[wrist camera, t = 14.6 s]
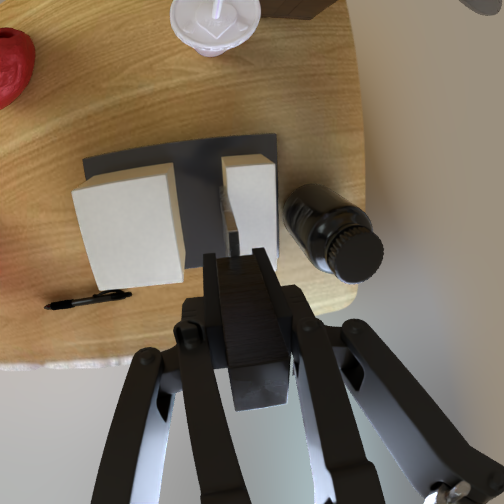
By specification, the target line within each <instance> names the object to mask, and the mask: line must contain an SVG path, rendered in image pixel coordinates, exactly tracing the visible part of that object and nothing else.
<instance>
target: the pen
mask: <svg viewBox="0 0 504 504" xmlns="http://www.w3.org/2000/svg"><path fill="white" fill-rule="evenodd" d="M109 292H115V293H111V294H106V295H103V294H105V293H109ZM130 296H132V293H131V292H124V291H122V290H120V289H111V290H105V291H103V292H101V293H99V294H94V295H93V297H87V298H81V299H75V300H74V299H71V300H64V301H58V302H52V303H51V304H48V305H46V306H44V309H47V310H59V309H68V308H72V307H75V306H82V305H88V304H95V303H101V302H107V301H116V300H122V299H125V298H126V297H130Z"/></svg>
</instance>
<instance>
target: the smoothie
mask: <svg viewBox="0 0 504 504" xmlns="http://www.w3.org/2000/svg"><path fill="white" fill-rule="evenodd" d="M260 16H261V6H260V2H259V0H173V2H172V5H171V8H170V21H171V27H172V29H173V30H174V32H175V34H176V36H177V37H178V38H179V39H180V40H181V41H182V42H184V43H185V44H187V45H189V46H191V47H193V48H194V49H195V50H196V51H197V52H198V53H199V54H201V55H203V56H206V57H215V56H218V55H221V54H222V53H224V52H225V51H226V50H228V49H230V48H233V47H236V46H238V45H240V44H241V43H243V42H244V41H246V40H247V39H248V38H249V37H250V36H251V35H252V34H253V33H254V31H255V29H256V27H257V25H258V23H259V20H260Z"/></svg>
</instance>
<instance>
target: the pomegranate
mask: <svg viewBox="0 0 504 504" xmlns="http://www.w3.org/2000/svg"><path fill="white" fill-rule="evenodd" d="M34 62H35V47H34V45H33V42H32V40H31V38H30V36H29V35H27V34H25V33H24V32H22V31H19V30H16V29H13V28H7V27H5V28H0V110H1V109H3V108H4V107H6V106H8V105H9V104H10V103H12V102H13V101H14V100H15V99H16V98H17V97H18V96H19V95H20V94H21V93H22V91H23V90H24V89H25V88H26V87H27V85H28V83H29V81H30V78H31V76H32V72H33V68H34Z"/></svg>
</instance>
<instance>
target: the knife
mask: <svg viewBox="0 0 504 504" xmlns="http://www.w3.org/2000/svg"><path fill="white" fill-rule="evenodd" d="M219 194H220V205H221V217H222V227H223V238H224V248H225V255H226V257H224V258H216V267H217V277H218V287H219V297H220V306H221V316H222V324H223V333H224V342H225V350H226V358H227V366H228V372H229V378H230V384H231V390H232V396H233V401H234V407H235V411H236V412H237V411H244V410H252V409H259V408H265V407H271V406H277V405H283V404H287V401H288V388H289V375H290V356H289V353H288V350H287V347H286V344H285V341H284V338H283V335H282V332H281V330H280V327H279V324H278V321H277V318H276V315H275V312H274V309H273V306H272V303H271V301H270V298H269V295H268V292H267V289H266V286H265V283H264V280H263V277H262V274H261V272H260V269H259V266H258V263H257V260H256V257H255V255H254V254H251V255H242V256H240V243H239V231H238V227H237V224H236V220H235V217H234V213H233V210H232V206H231V202H230V199H229V195H228V192H227V188H226V186H219Z"/></svg>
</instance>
